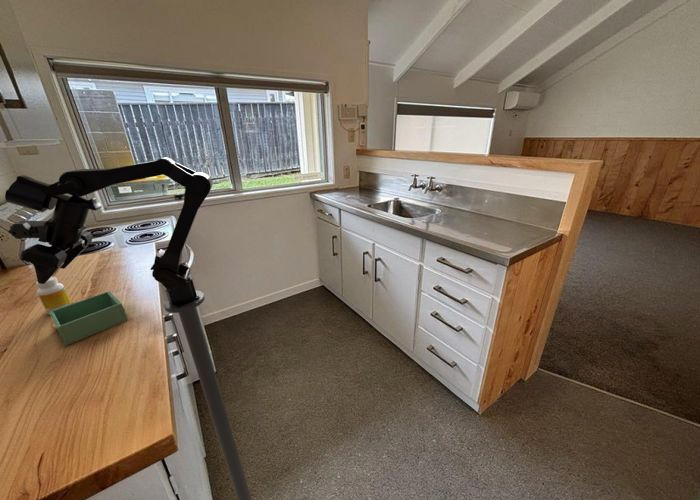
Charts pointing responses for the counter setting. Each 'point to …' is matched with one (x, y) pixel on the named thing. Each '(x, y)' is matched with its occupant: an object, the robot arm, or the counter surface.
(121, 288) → the counter surface
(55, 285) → the supplement bottle
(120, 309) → the open box
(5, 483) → the counter surface
